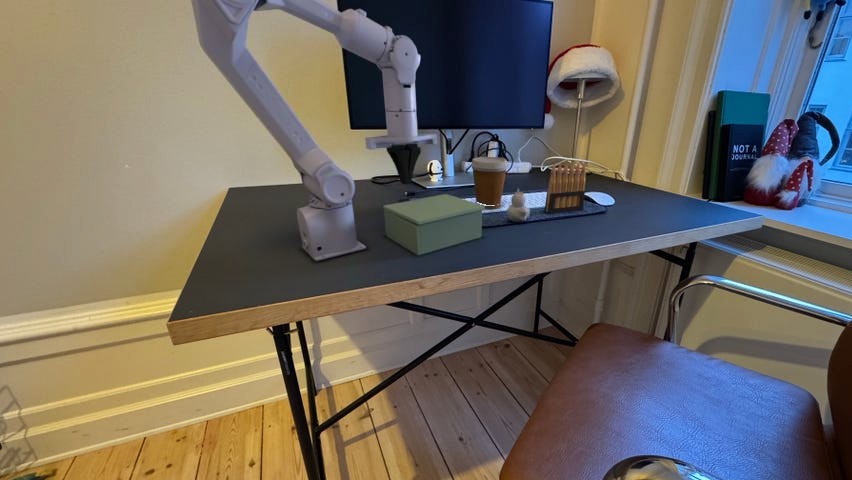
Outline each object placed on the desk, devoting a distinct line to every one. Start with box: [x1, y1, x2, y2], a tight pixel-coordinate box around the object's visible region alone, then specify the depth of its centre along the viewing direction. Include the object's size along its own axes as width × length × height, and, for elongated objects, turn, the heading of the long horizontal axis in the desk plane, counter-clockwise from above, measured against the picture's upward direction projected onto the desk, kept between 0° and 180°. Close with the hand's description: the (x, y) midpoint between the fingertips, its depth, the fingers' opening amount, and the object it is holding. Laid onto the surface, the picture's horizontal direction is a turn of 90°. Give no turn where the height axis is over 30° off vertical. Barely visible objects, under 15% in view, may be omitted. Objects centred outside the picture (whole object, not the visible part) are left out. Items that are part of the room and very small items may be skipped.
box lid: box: [382, 193, 486, 225], centre depth 74 cm, size 13×16×1 cm
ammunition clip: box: [544, 162, 587, 215], centre depth 93 cm, size 11×2×12 cm, turn 112°
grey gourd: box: [506, 187, 531, 223], centre depth 85 cm, size 5×7×8 cm
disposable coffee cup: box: [470, 156, 509, 210], centre depth 95 cm, size 10×10×12 cm
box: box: [383, 209, 483, 256], centre depth 76 cm, size 13×16×6 cm
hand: (406, 183), depth 75 cm, fingers closed
